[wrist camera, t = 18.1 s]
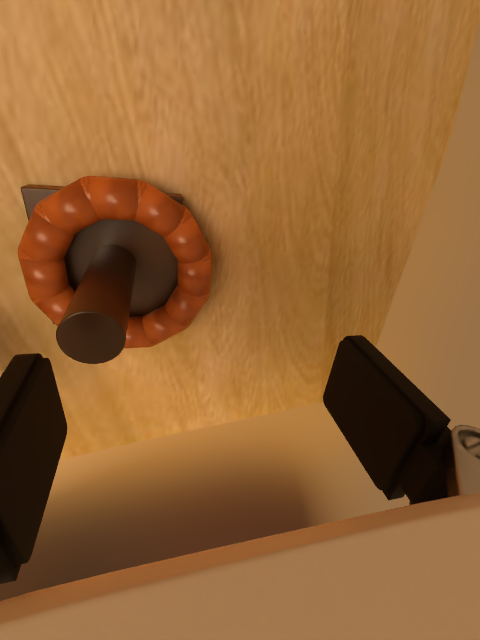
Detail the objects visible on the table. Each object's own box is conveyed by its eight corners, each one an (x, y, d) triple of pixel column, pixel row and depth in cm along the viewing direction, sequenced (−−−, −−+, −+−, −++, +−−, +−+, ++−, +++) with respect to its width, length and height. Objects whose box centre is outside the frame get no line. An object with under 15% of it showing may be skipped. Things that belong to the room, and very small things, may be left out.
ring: (212, 182, 17) (218, 187, 16) (205, 333, 22) (209, 349, 20) (5, 167, 15) (-14, 171, 13) (49, 340, 20) (40, 359, 18)
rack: (181, 194, 18) (201, 236, 11) (181, 313, 22) (196, 405, 14) (26, 184, 16) (-85, 227, 9) (57, 317, 20) (-1, 426, 12)
